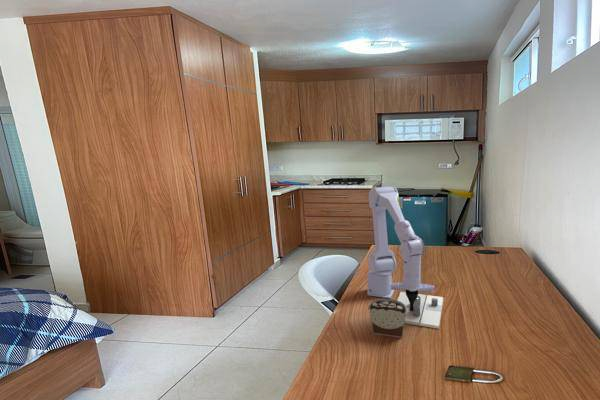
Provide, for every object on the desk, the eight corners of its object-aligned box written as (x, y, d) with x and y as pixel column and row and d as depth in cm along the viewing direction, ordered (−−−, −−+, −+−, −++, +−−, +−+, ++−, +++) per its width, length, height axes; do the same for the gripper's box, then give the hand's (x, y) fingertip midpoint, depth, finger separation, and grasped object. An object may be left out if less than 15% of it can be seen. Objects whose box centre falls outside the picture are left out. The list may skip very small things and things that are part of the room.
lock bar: (410, 302, 136) (410, 293, 135) (420, 302, 135) (420, 294, 134) (411, 315, 125) (411, 305, 125) (422, 316, 124) (422, 306, 124)
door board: (389, 320, 125) (389, 311, 124) (400, 294, 146) (400, 286, 146) (438, 328, 118) (439, 319, 118) (443, 299, 140) (443, 291, 139)
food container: (408, 328, 119) (408, 300, 117) (407, 338, 113) (407, 308, 112) (370, 324, 123) (370, 296, 122) (368, 333, 117) (367, 304, 116)
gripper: (390, 275, 124) (390, 313, 126) (435, 278, 120) (434, 316, 122) (390, 269, 130) (390, 304, 132) (433, 271, 127) (432, 307, 129)
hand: (411, 309), depth 128 cm, fingers closed, pressing on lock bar
